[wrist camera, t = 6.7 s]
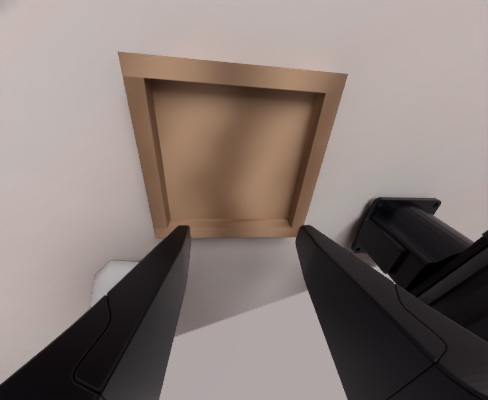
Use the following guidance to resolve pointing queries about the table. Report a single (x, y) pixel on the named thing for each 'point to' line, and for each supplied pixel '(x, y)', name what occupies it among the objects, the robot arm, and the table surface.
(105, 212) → the table surface
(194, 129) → the tray
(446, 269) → the robot arm
